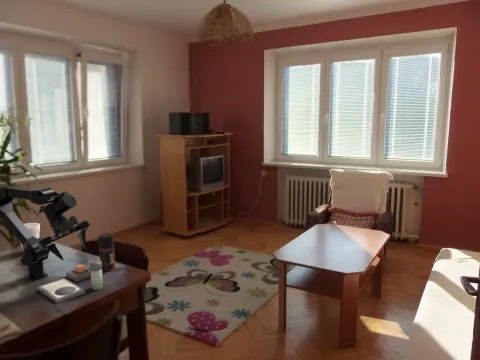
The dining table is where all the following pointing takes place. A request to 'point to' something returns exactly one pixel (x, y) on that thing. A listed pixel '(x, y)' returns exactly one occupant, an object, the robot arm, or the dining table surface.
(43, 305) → the dining table surface
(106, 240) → the deodorant
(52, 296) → the board
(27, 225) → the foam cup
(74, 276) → the button housing
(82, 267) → the button
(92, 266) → the knob
